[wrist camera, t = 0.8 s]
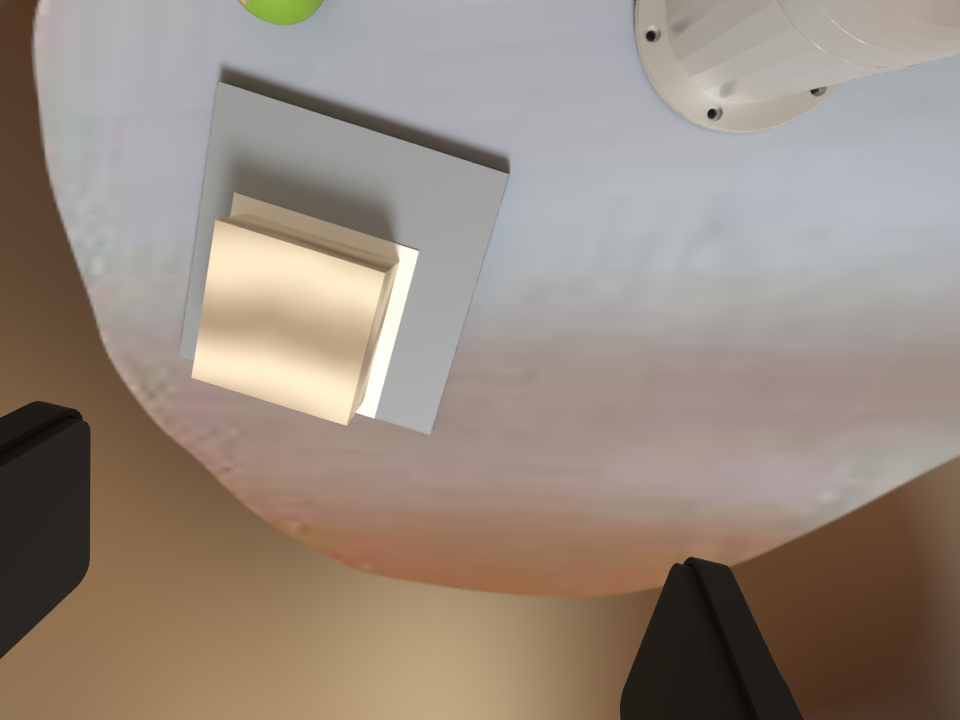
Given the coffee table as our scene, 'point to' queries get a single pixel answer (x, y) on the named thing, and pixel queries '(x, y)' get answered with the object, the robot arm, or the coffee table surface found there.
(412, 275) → the board
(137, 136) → the coffee table surface
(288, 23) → the snail figurine
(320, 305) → the pedestal block
